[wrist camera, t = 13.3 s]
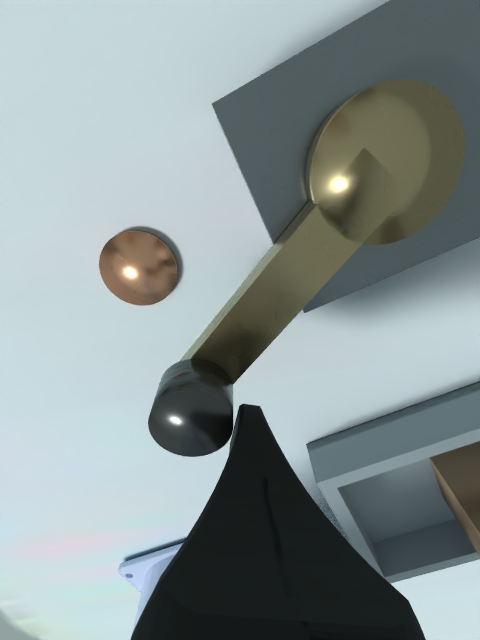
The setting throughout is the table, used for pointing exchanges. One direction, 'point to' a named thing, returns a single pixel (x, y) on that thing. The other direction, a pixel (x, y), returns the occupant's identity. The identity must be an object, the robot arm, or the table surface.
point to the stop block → (461, 487)
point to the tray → (399, 485)
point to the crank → (318, 244)
